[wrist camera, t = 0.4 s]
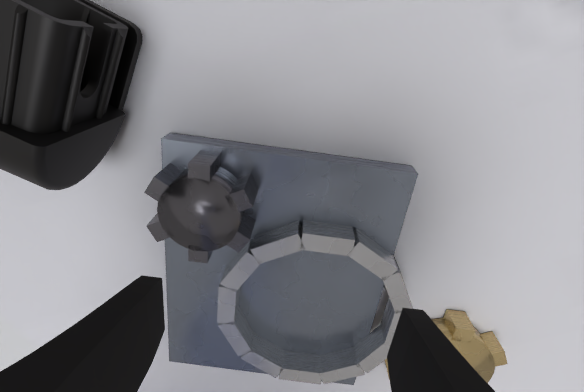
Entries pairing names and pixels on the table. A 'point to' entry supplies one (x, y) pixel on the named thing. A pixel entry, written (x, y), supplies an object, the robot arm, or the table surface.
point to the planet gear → (471, 343)
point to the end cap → (61, 87)
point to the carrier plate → (279, 257)
